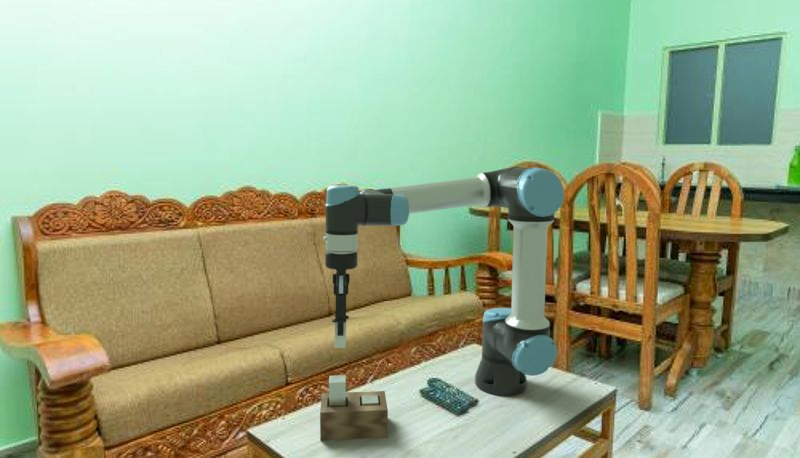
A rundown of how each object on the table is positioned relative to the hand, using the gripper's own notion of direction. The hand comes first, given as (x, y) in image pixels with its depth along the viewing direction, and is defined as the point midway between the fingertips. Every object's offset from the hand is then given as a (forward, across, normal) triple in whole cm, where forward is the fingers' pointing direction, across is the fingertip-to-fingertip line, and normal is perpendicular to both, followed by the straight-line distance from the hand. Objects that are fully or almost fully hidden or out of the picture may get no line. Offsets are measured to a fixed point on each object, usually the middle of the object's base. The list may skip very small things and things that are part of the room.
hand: (340, 346), depth 126 cm
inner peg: (+20, 0, +8) cm, 21 cm away
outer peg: (+15, 0, 0) cm, 15 cm away
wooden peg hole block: (+21, 0, +4) cm, 22 cm away
